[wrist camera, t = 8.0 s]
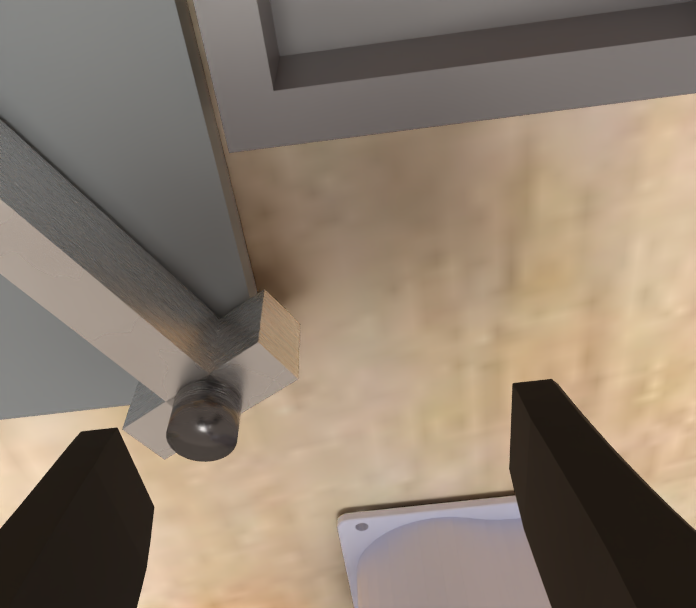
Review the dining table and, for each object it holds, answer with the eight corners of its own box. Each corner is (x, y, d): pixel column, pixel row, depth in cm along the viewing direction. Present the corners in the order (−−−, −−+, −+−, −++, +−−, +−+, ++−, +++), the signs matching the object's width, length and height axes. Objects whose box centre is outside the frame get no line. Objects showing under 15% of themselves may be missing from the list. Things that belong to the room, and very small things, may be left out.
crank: (-282, 37, 14) (-442, 90, 11) (-155, -127, 13) (-303, -116, 10) (181, 401, 21) (158, 495, 18) (302, 324, 19) (299, 413, 16)
